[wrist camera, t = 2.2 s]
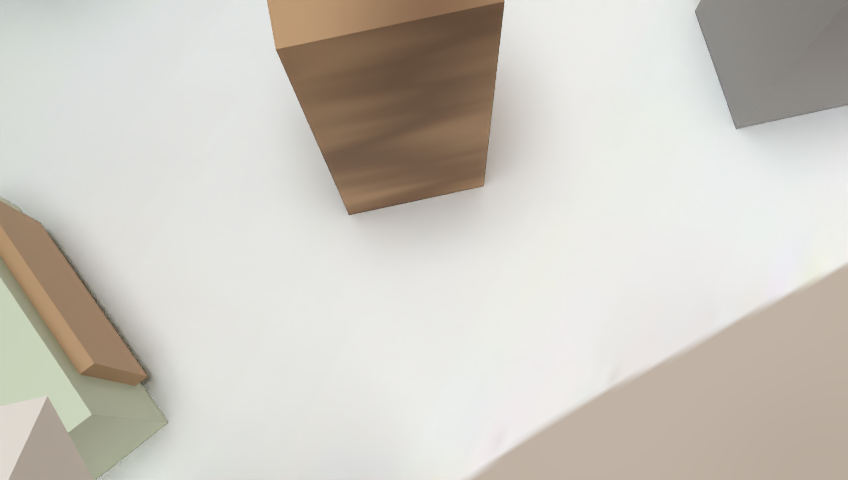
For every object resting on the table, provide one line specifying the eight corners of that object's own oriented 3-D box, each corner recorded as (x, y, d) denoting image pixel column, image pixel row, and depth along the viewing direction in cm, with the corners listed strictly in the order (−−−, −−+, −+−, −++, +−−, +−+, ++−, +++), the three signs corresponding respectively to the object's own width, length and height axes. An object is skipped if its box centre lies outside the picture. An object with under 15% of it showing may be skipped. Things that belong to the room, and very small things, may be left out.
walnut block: (349, 214, 28) (275, 49, 16) (325, 92, 29) (241, -141, 18) (483, 186, 28) (504, 1, 17) (453, 65, 29) (453, -185, 18)
